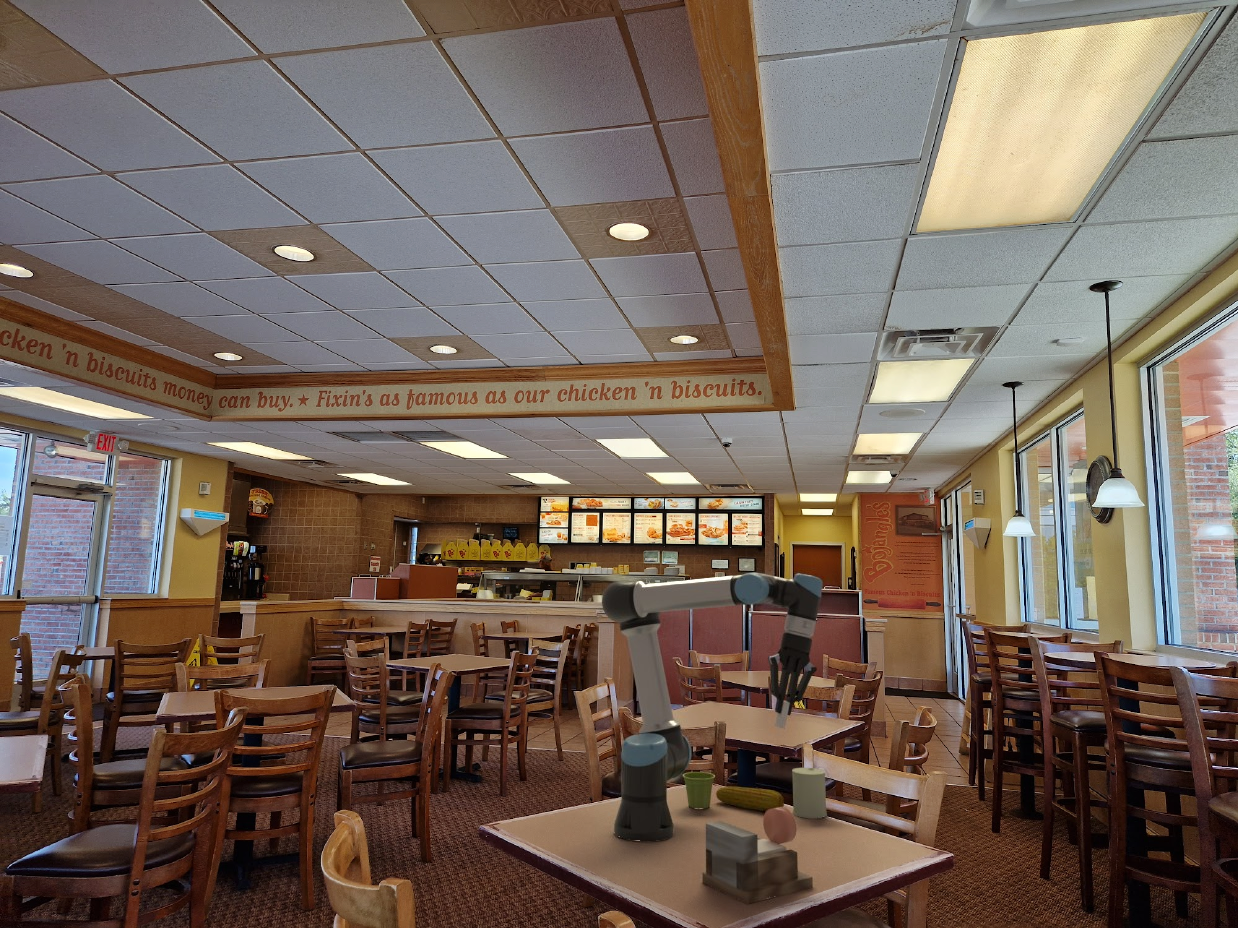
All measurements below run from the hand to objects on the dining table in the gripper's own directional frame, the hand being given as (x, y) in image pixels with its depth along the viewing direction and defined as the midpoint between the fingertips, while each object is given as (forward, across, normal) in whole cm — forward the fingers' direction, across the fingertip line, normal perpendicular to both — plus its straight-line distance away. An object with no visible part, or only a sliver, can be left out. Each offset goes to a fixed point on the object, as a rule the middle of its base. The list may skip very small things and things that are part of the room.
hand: (779, 726), depth 199 cm
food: (+28, +9, +30) cm, 42 cm away
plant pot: (+31, -5, +33) cm, 46 cm away
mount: (+29, -11, -29) cm, 43 cm away
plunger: (+26, -10, -29) cm, 40 cm away
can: (+24, +23, +21) cm, 40 cm away
